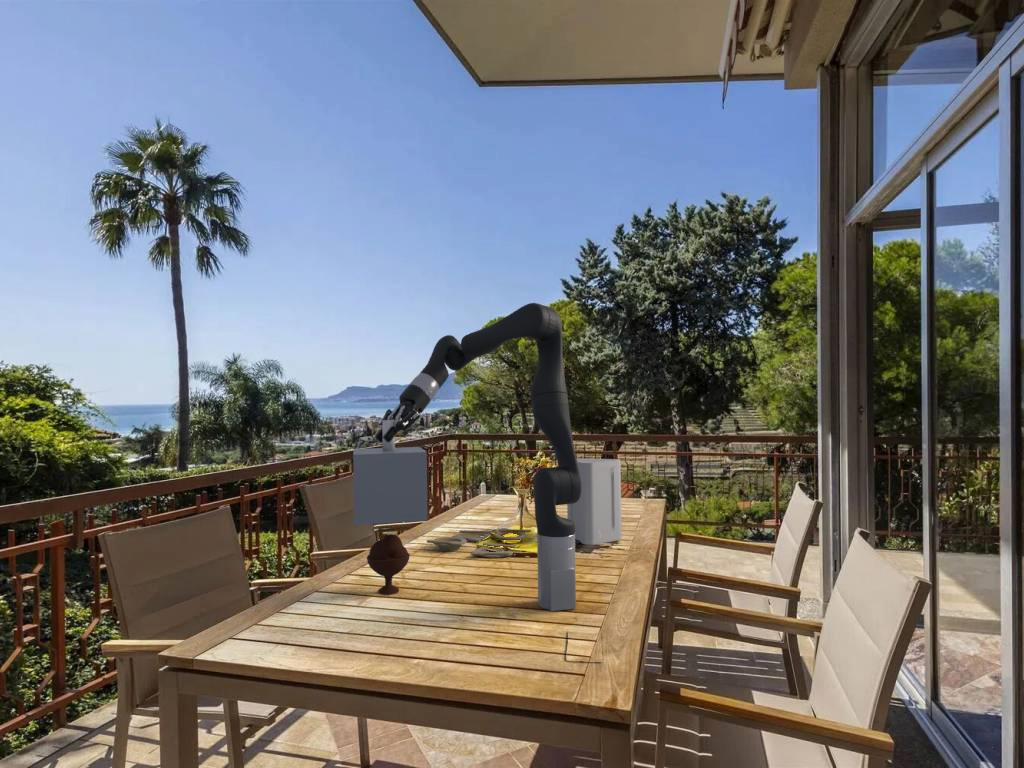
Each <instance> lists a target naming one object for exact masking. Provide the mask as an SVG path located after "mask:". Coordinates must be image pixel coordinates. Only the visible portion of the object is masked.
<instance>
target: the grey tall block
mask: <svg viewBox="0 0 1024 768" xmlns="http://www.w3.org/2000/svg"><path fill="white" fill-rule="evenodd" d="M577 463H578V467H579V472H580V478H581V496H580V499H579V500H578V501H577V502H576V503H573V504H566V505H567V507H566V508H567V519H570V520H572V521H573V522H574V524H575V539H577V540H579V541H580V542H581V544H583V545H585V546H595V545H601V544H605V543H611V542H614V541H615V542H616V541H620V540H621V539H622V537H623V536H622V535H623V534H622V488H621V486H622V484H621V483H622V480H621V477H622V476H621V475H622V474H621V459H620V458H619V459H618V458H577ZM580 542H579V543H580Z"/></svg>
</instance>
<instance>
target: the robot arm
mask: <svg viewBox="0 0 1024 768" xmlns="http://www.w3.org/2000/svg"><path fill="white" fill-rule="evenodd" d="M517 338H519V339H520V338H527V339H530V340H533V341H535V343H536V346H537V347H536V348H537V355H538V356H537V357H538V364H537V368H536V371H535V374H534V377H533V380H532V383H531V387H530V399H531V400H530V401H531V409H532V415H533V419H534V421H535V423H536V425H537V426H538V428H539V429H540V430H541V431H542V433H543V435H545V437H546V438H547V440H548V441H549V443H550V444H551V446H552V447H553V450H554V453H555V457H556V461H557V466H552V467H551V466H549V467H541V468H539V469H537V471H536V472H535V474H534V478H533V498H534V500H533V501H534V516H535V518H534V519H535V523H536V531H537V532H536V533H537V534H536V537H537V538H536V539H537V544H536V545H537V546H536V547H537V551H536V553H537V556H536V557H537V604H538V606H539V607H540V608H543V609H545V610H549V611H550V612H557V611H565V610H576V606H577V594H576V593H577V589H576V588H577V586H576V585H577V584H576V574H577V573H576V540H575V524H574V522H573V521H572V520H570V519H568V518H566V517H563V516H560V515H558V513H557V512H558V511H557V507H556V506H562V505H567V504H573V503H576V502H577V501H578V500H579V499H580V496H581V478H580V472H579V467H578V463H577V459H578V458H577V454H576V450H575V449H576V448H575V444H574V440H573V432H572V426H571V425H572V424H571V417H570V416H571V415H570V406H569V397H568V391H567V386H566V385H567V384H566V377H565V366H564V359H563V357H564V356H563V325H562V319H561V316H560V314H559V312H557V310H555V309H554V308H552V307H549V306H546V305H543V304H540V303H536V302H530V303H527V304H524V305H522V306H521V307H519V308H517V309H516V310H514V311H513V312H511V313H510V314H508V315H507V316H505V317H503V318H501V319H499V320H498V321H496V322H495V323H493V324H491V325H489V326H486V327H483V328H480V329H478V330H475V331H473V332H470V333H468V334H465V335H464V336H463V337H462V338H461V341H460V342H459V340H458V339H457V338H456V337H455V336H454V335H452V334H447V335H444V336H442V337H441V338H440V339H439V340H437V342H436V344H435V346H434V348H433V350H432V353H431V355H430V357H429V359H428V362H427V364H426V365H425V366H424V368H422V370H421V371H420V372H419V374H417V375H416V376H415V377H414V378H413V379H412V380H411V381H410V383H409V384H407V387H406V388H405V389H404V390H403V392H402V393H401V394H400V395H399V397H398V398H399V404H398V405H397V406H396V407H394V409H393V410H391V409H390V408H389V409H387V410H386V411H385V414H384V416H382V419H381V421H380V425H381V426H382V420H395V422H394V424H393V425H392V426H393V427H390V429H389V430H388V431H387V432H386V434H385V435H384V436H383V434H382V427H381V429H380V430H379V431H378V432H377V433H376V434H375V439H376V440H377V441H378V442H381V443H383V438H384V439H385V441H386V442H390V441H391V440H392V439H393V438H394V436H395V437H396V435H397V434H398V433H400V432H402V431H403V432H405V431H406V430H407V429H409V428H410V427H411V426H412V425H413V424H414V423H415V422H417V420H419V418H421V414H422V413H423V412H424V410H425V409H426V408H427V407H428V406H429V404H430V403H431V402H432V400H433V399H434V398H435V396H436V394H438V392H439V390H440V389H441V388H442V387H443V385H444V384H445V382H446V381H447V380H448V378H449V374H450V373H449V370H448V369H450V370H452V371H461V370H462V369H464V368H465V367H466V366H467V365H469V364H470V363H471V362H472V361H474V360H475V359H477V358H479V357H482V356H485V355H489V354H491V353H493V352H495V351H496V350H498V349H499V348H500V347H501V346H502V345H503V344H504V343H505V342H509V340H513V339H517Z"/></svg>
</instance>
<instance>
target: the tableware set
mask: <svg viewBox="0 0 1024 768" xmlns="http://www.w3.org/2000/svg"><path fill="white" fill-rule="evenodd" d="M492 531H493V530H491V529H490V530H488V529H486V530H485V529H484V530H470V529H469V530H462V529H461V530H459V531H458V533H456V534H454V535H451V536H445V537H438V538H435V539H427V540H426V543H429V544H433V545H435V546H437V547H438V549H439V550H440V551H442V552H455V551H458V550H460V549H461V548H462V545H465V544H466V543H467V542H477V543H479V542H478V541H480V542H482V541H481V539H485V538H487V537H488V536H489V535H491V533H492ZM508 533H513V534H517V535H519V536H517V537H504V536H503V535H505V534H508ZM527 533H532V529H515V528H514V529H511V528H498V531H497V532H496V533H495V534H494V537H495V538H496V539H499V540H500V539H501V540H520V539H522V540H523V539H525V538H527V537H528V534H527ZM479 536H484V537H482V538H478V537H479ZM484 545H487V546H494V547H500V546H503V547H510V548H513V549H516V548H517V546H516V545H514V544H505V543H502V544H501V543H492V542H482V546H480V547H478V548H475V549H473V550H472V553H471V555H474V556H478V557H482V558H491V559H492V558H493V559H496V558H507V557H510V556H513V555H514V554H513V552H489V551H486V548H485V547H486V546H484ZM512 554H513V555H512Z"/></svg>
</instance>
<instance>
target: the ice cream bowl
mask: <svg viewBox="0 0 1024 768" xmlns="http://www.w3.org/2000/svg"><path fill="white" fill-rule="evenodd" d="M410 554H411V553H410V552H408V550H407V548H406V547H405V546H404V545H403V542H402V539H401V538H400V537H399V536H398V535H397V534H386V535H385V536H384V537H383V538H382V539H379V540H378V541H375V542H374V543H373V545H371V547H370V549H369V554H368V555H367V556H366V560H367V563H368V566H369V568H370V569H371V570H372V571H374V572H375V573H376V574H378V575H379V576H382V577H384V583H385V584H384V585H383V586H381V587H380V588H379V589H378V590H377V593H378V594H379V595H382V596H391V595H395V594H398V593H399V592H400V588H399V587H397V586H395V585H394V584H393V577H394V576H396V575H398V574H399V573H400V572H402V570H404V568H405V567H406V566H408V563H409V560H410V556H411V555H410Z"/></svg>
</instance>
